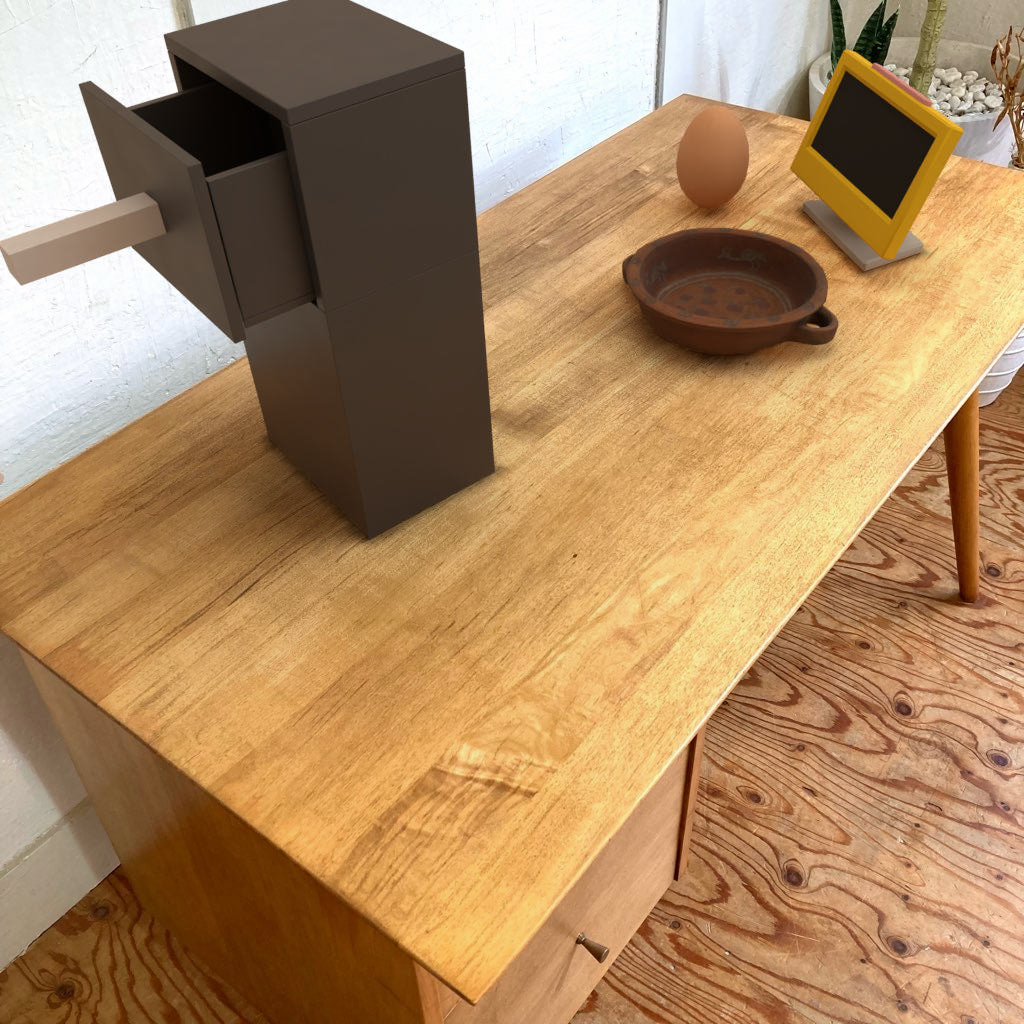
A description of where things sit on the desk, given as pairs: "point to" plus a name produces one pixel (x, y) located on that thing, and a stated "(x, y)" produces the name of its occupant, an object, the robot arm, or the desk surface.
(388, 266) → the cabinet
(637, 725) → the desk surface
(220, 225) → the drawer
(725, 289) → the dish
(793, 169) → the toy computer monitor
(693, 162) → the egg
